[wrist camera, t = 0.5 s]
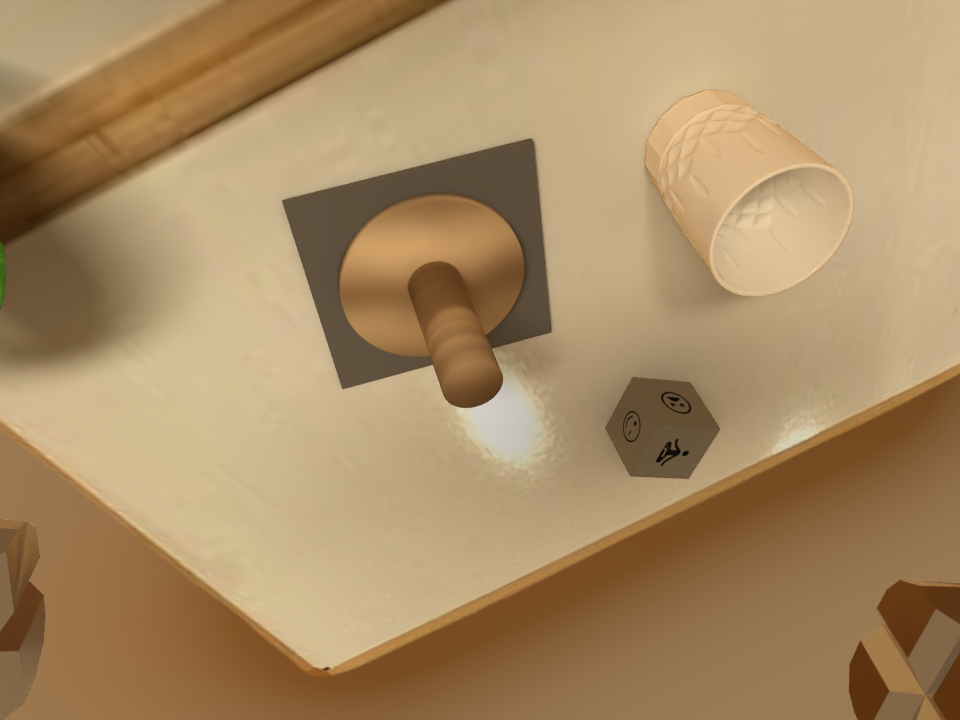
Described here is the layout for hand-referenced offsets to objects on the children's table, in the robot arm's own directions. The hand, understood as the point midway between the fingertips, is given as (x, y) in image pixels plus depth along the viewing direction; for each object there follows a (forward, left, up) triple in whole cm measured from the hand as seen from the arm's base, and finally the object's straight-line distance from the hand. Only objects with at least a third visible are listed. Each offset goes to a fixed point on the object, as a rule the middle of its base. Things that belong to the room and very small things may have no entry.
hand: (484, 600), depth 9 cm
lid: (+25, +4, -38) cm, 46 cm away
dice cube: (+42, +18, -39) cm, 60 cm away
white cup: (+21, +21, -39) cm, 49 cm away
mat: (+25, +4, -39) cm, 46 cm away
